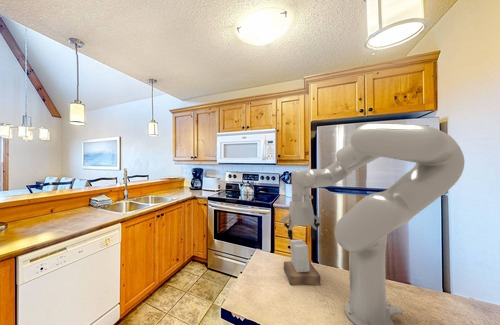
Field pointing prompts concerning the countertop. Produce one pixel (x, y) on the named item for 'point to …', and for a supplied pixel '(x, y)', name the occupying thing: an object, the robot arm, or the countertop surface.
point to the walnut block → (301, 275)
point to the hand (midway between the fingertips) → (302, 238)
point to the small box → (300, 255)
